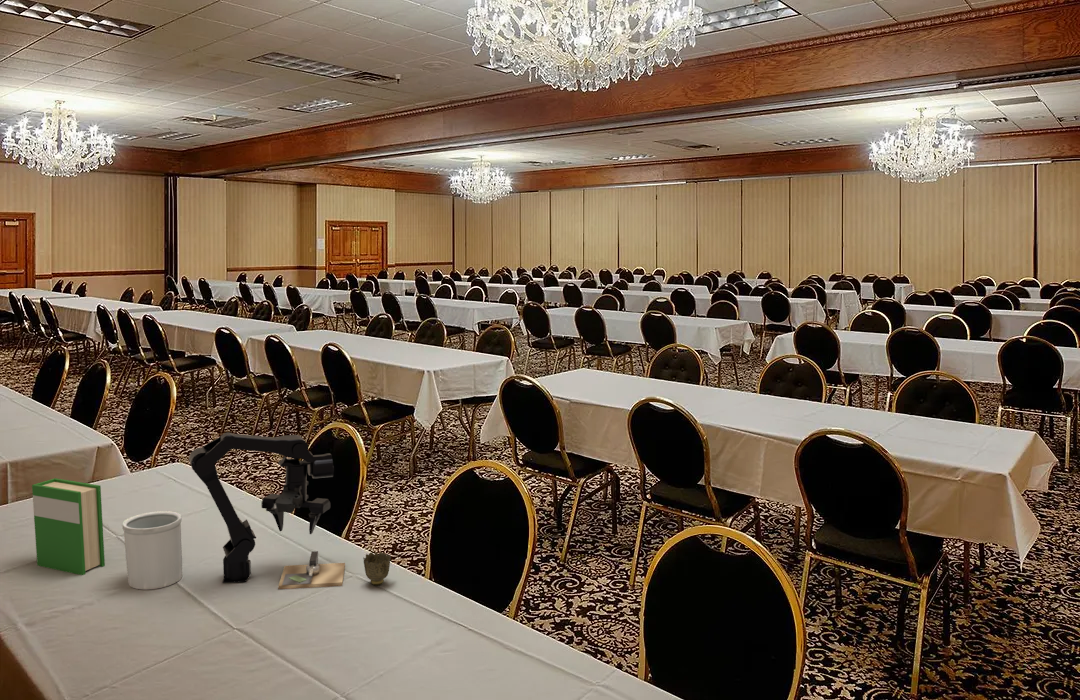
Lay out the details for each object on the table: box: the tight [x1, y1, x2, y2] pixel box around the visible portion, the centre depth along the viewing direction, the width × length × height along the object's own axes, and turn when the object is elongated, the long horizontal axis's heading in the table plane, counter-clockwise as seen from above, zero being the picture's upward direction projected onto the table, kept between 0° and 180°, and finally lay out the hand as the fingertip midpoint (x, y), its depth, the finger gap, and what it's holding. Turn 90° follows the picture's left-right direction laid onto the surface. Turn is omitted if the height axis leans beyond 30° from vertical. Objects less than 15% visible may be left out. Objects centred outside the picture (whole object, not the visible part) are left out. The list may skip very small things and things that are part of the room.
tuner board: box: [277, 562, 346, 590], centre depth 234 cm, size 17×14×1 cm
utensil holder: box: [121, 510, 183, 590], centre depth 229 cm, size 15×15×18 cm
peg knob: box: [306, 550, 320, 576], centre depth 234 cm, size 14×4×3 cm, turn 10°
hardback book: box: [31, 477, 106, 576], centre depth 238 cm, size 18×7×24 cm, turn 70°
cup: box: [362, 551, 392, 587], centre depth 230 cm, size 8×7×8 cm
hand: (295, 532), depth 239 cm, fingers open, 9 cm apart
